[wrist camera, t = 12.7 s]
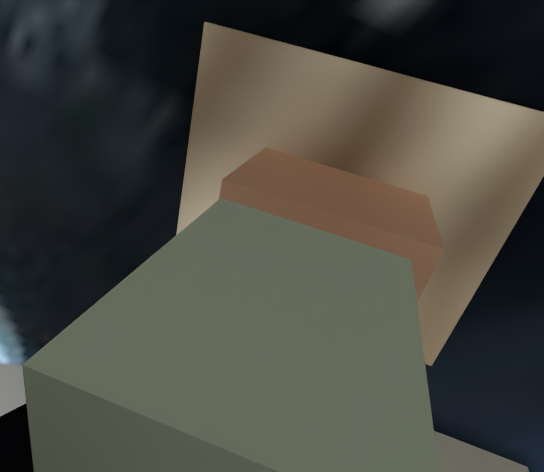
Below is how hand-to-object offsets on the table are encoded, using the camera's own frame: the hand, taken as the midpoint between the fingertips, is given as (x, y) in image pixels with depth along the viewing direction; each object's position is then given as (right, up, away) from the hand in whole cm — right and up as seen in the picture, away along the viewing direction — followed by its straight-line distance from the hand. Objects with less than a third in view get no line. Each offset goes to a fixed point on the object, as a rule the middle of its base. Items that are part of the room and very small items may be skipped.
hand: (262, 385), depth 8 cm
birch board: (+3, +5, +9) cm, 11 cm away
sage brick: (0, 0, +1) cm, 1 cm away
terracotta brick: (+3, +4, +9) cm, 10 cm away
